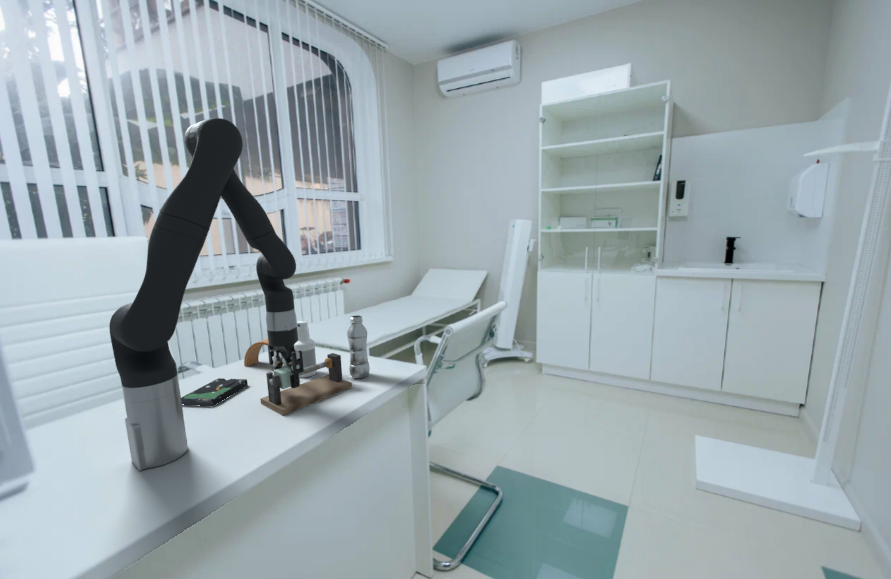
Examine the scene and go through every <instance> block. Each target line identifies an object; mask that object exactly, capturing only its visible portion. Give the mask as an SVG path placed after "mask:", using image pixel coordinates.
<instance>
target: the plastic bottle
mask: <svg viewBox="0 0 891 579" xmlns="http://www.w3.org/2000/svg"><path fill="white" fill-rule="evenodd" d="M363 322H364V320H363V316H362V315H351V316H350V326H349V327H348V329H347V332H346V336H347V341H348V346H349V347H348V348H349V354H350V355H349V357H350V359H349V371H348V372H349V375H350V376H351V377H352V378H354V379H362V378H365V377H367V376H369V374H370V370H371V367H370V362H369V358H368V350H367V347H368V346H367V342H368V330H367V328H366V327H365V326H364V324H363Z"/></svg>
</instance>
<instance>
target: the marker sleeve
mask: <svg viewBox="0 0 891 579" xmlns="http://www.w3.org/2000/svg"><path fill="white" fill-rule="evenodd" d="M282 367H283V368H279V369H276V370H275V369H273V370H272V371H273V375H276V374H277V375H279V376H280V381H281V382H280V390H281V389H282V390H286V389H289V388H291V383H290V373H289V371H288V369H287V368H285V366H282ZM291 368H292V367H291ZM292 370H293V368H292ZM299 382H300V383H301V377H300V374H299Z"/></svg>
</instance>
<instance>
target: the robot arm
mask: <svg viewBox="0 0 891 579" xmlns="http://www.w3.org/2000/svg"><path fill="white" fill-rule="evenodd" d="M183 139H184V144H185V147H186V149H187V151H188V153H189V154H190V156H191V157H192V159H191V163H190V166H189V168H188V170H187V172H186V173H185V175H184V176H183V178H182V179H181V180H180V182H178V184H177V185H176V186H175V188H174V189H173V190H172V191H171V193H170V194H169V196H168V197H167V198H166V199H165V201H164V203H163V204H162V206H161V208H160V210H159V212H158V215H157V216H156V220H155V222H154V225H153V227H152V230H151V233H150V235H149V240H148V247H147V257H146V269H145V274H144V276H143V280H142V283H141V285H140V287H139V290H138V292H137V293H136V296H135V298H134V299H133V302H130V303H126V304H124V305H121V306H120V307H119V308H118V309H116V311H115V312H114V313H113V314H112V315H111V317H110V320H109V329H108V330H109V335H110V336H109V337H110V342H111V348H112V352H113V353H112V354H113V357H114V363H115V367H116V370H117V372H118V375H119V378H120V383H121V388H122V395H123V401H124V405H125V406H124V407H125V408H124V409H125V414H126V417H125V419H124V424H125V428H126V434H127V440H128V446H129V452H130V454H129V455H130V458H131V462H132V463H133V464H134V466H135V467H136V468H137V470H138V471H139V472H140V471H144V470H146V469H151V468H155V467H160V466H164V465H167V464H169V463H172V462H174V461H175V460H177V459H179V458H180V457H182V456H184V455H185V454H186V452H187V451H188V448H189V445H188V438H187V432H186V425H185V424H186V423H185V419H184V410H183V405H182V402H181V398H182V396H181V389H180V382H179V376H178V375H179V374H178V368H177V367H178V365H177V363H176V360H175V359H174V357H173V355H172V353H171V350H170V346H169V345H170V344H169V341H170V340H171V339H172V337H173V336H174V334H175V331H176V328H177V325H178V324H177V323H178V320H179V316H180V311H181V307H182V302H183V300H184V297H185V296H184V295H185V292H186V290H187V289H186V288H187V286H188V283H189V281H190V279H191V276H192V274H193V272H194V269H195V267H196V265H197V262H198V260H199V257H200V254H201V252H202V250H203V249H204V248H203V247H204V244H205V242H206V240H207V237H208V234H209V231H210V228H211V224H212V222H213V219H214V217H215V215H216V211H217V208H218V206H219V203H220V199H221V198H222V200H223V201H224V203H225V205H226V206H227V208H228V209H229V211H230V213H231V214H232V216H233V218H234V220H235V221H236V223H237V226H238V227H239V229H240V232H242V234H243V237H244V239H245V240H246V242H247V244H248V245H249V246H250V247H251V248H252V249H254V250H257V251H258V252H260V255H259V256H258V258H257V260H256V265H255V266H256V267H255V268H256V275H257V279H258V281H259V284H260V287H261V290H262V292H263V296H264V302H265V312H266V314H265V321H266V332H267V339H268V344H269V345H268V346H267V352H268V363H269V366H272V368H273V370H276V369H279V368H283V367H285V368H287V369H288V371H289V373H290V383H291V387H290V388H296V387H299V386H300V384H301V381H300V382H299V373H302V372H304V368H303V357H302V351H301V350H300V351H295V348H294V344H295V343H296V342H298V330H297V322H298V321H297V315H296V310H295V300H294V298H295V297H294V292H293V290H292V289H291V288H290V287H288V286H286V284H285V281H284V280H287V279H291V277H293V276H294V274H295V273H296V271H297V263H296V259H295V256H294V254H293V253H292V251H290V249H289V248H288V246H287V245H286V244H285V242H283V240H282V238H281V237H280V236H278V234H277V233H276V230H275V228H274V227H273V224H272V222H271V220H270V218H269V216H268V215H267V212H266V210H265V209H264V207H263V206H262V205H261V204H260V202H259V201H258V200H257V199H256V198H255V196H254V195H253V194H252V193H251V192H250V191H249V190H248V189H247V187H246V186H245V185H244V183H243V182H242V181H241V179H240V177H239V176H238V174H237V172H236V171H235V166H236V164H237V163H238V161H239V159H240V157H241V155H242V152H243V147H244V143H243V138H242V134H241V132H240V130H239V128H238V127H237V126H236V125H235V124H234V122H233V123H232V121H229V119H225V118H221V117H220V118H219V117H215V118H208V119H204V120H201V121H199V122H195V123H194V124H191V125H190V126H189V127H188V128H187V129H186V130H185V132H184V138H183ZM291 362H292V363H291ZM289 363H290V364H289ZM298 365H299V366H298ZM291 367H292V368H293V370H292V368H291ZM299 367H300V368H299Z"/></svg>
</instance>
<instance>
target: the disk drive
mask: <svg viewBox="0 0 891 579" xmlns="http://www.w3.org/2000/svg"><path fill="white" fill-rule="evenodd" d="M246 386H247V387H249V386H248V380H247V379H246V378H230V379H225V378H220V377H219V378H217V379H215V380H213V381H211V382H209V383H207V384H205V385H203V386H201V387H199V388H197V389H195V390H193V391H192V392H190V393H187V394H185V395H183V396H181V402H182V404H184V405H200V406H199V407H203V406H214V405H215V406H217V405H218V404H217V403H219V402H221V401H222V400H224V399H225V400H227V399H228V398H227V397H229V396H230V397H231V395H232V396H234V395H235V394H237V393H238V392H240V391H242V390H243V388H244V387H245V388H247V387H246ZM245 388H244V389H245ZM241 389H242V390H241ZM239 390H240V391H239ZM236 392H237V393H236ZM234 393H235V394H234ZM233 394H234V395H233ZM230 397H229V398H230ZM226 398H227V399H226ZM225 400H224V401H225ZM222 402H223V401H222ZM222 402H221V403H222ZM216 404H217V405H216ZM219 404H220V403H219ZM215 406H214V407H215Z"/></svg>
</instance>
